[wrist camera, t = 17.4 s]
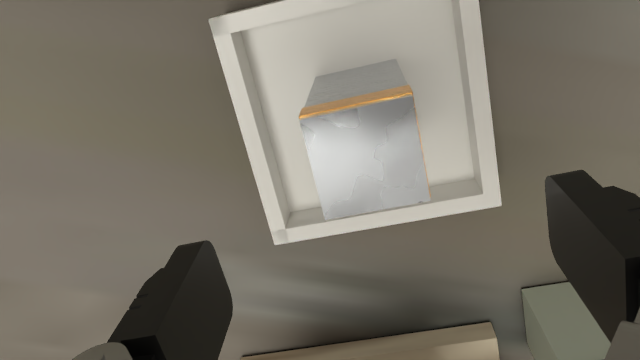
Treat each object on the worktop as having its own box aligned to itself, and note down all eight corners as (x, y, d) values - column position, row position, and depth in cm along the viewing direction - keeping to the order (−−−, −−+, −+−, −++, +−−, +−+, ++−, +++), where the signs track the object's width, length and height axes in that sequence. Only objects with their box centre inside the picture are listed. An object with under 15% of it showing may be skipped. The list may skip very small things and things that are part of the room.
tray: (224, 13, 26) (208, 19, 23) (459, -44, 24) (473, -46, 21) (282, 219, 30) (274, 245, 27) (487, 182, 28) (501, 205, 25)
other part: (520, 288, 31) (572, 390, 23) (593, 277, 30) (670, 378, 23) (526, 343, 32) (577, 456, 25) (595, 334, 31) (669, 446, 24)
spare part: (314, 76, 26) (297, 119, 18) (396, 57, 25) (413, 94, 18) (332, 152, 27) (323, 221, 20) (411, 136, 26) (432, 201, 19)
